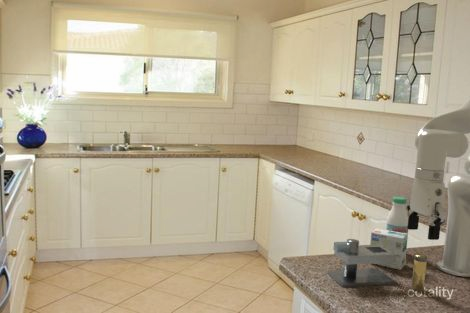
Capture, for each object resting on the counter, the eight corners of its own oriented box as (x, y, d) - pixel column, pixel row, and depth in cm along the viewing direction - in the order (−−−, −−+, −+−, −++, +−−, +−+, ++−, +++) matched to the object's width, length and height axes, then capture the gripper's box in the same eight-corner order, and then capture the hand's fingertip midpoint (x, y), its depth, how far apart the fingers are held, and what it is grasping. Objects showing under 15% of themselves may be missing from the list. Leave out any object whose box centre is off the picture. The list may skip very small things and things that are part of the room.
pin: (419, 286, 143) (422, 253, 141) (426, 290, 140) (429, 257, 138) (408, 286, 142) (412, 253, 141) (415, 291, 139) (419, 258, 137)
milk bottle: (378, 249, 174) (383, 195, 172) (396, 248, 177) (401, 195, 174) (392, 257, 167) (398, 200, 165) (410, 255, 170) (416, 200, 167)
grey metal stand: (377, 271, 153) (380, 234, 151) (394, 284, 143) (398, 245, 142) (325, 273, 149) (328, 236, 147) (340, 287, 139) (343, 246, 138)
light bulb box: (405, 264, 161) (408, 233, 159) (401, 270, 155) (404, 238, 153) (373, 257, 166) (376, 227, 165) (367, 263, 160) (370, 231, 159)
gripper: (461, 181, 129) (454, 243, 131) (422, 170, 145) (416, 225, 147) (437, 180, 127) (429, 243, 129) (400, 169, 143) (394, 225, 146)
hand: (422, 234), depth 138 cm, fingers open, 9 cm apart
